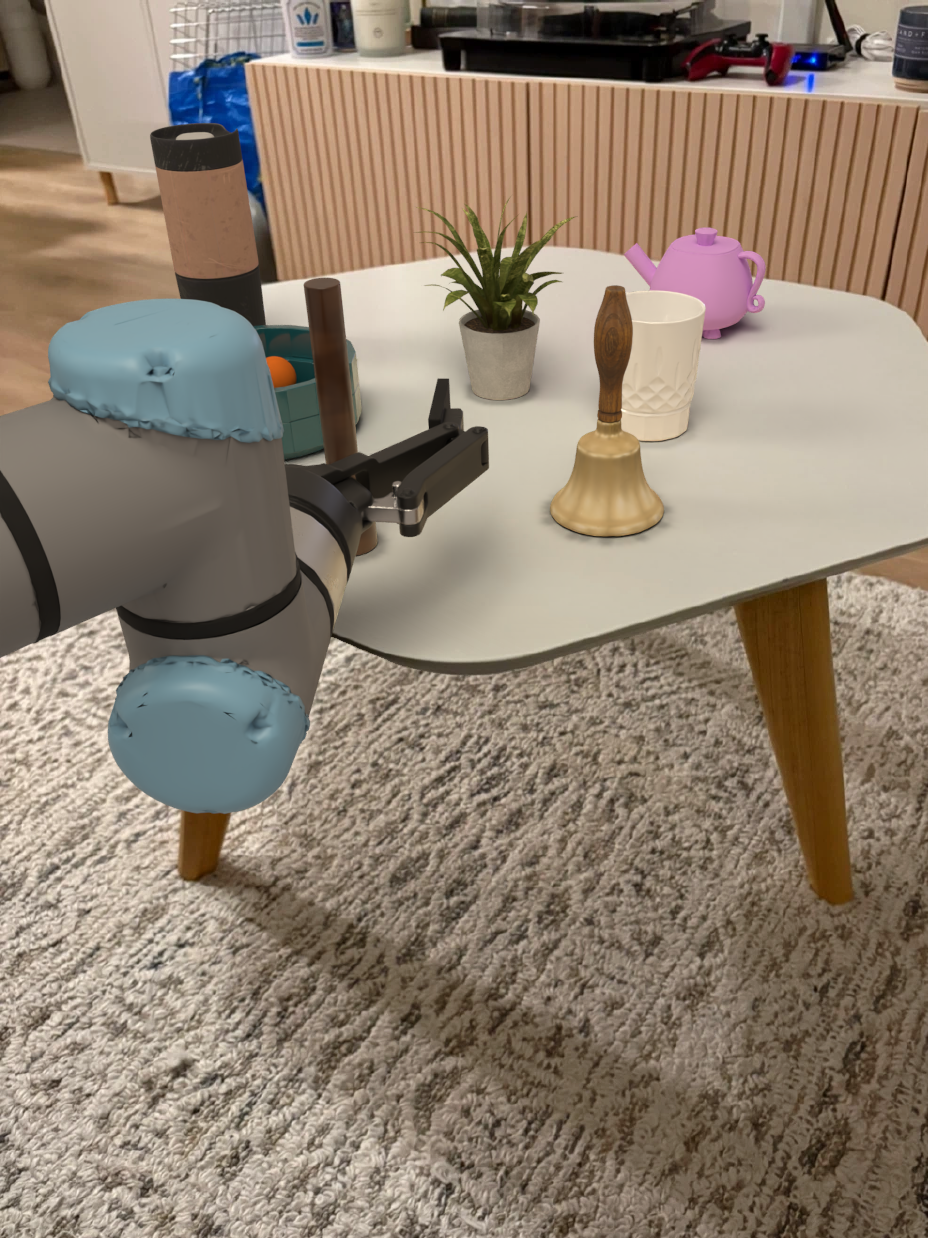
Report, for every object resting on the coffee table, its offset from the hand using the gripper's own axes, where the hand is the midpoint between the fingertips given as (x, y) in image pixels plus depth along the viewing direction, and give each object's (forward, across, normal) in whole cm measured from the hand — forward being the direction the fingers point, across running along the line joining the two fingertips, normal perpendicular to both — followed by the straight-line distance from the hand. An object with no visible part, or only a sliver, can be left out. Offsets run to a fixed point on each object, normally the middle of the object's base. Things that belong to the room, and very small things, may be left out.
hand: (342, 397), depth 73 cm
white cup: (+18, +22, -10) cm, 30 cm away
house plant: (+26, +8, -10) cm, 29 cm away
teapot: (+43, +28, -10) cm, 52 cm away
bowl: (+18, -10, -10) cm, 23 cm away
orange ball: (+22, -10, -7) cm, 25 cm away
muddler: (-2, 0, -10) cm, 10 cm away
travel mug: (+34, -17, -10) cm, 39 cm away
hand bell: (+3, +18, -10) cm, 21 cm away
